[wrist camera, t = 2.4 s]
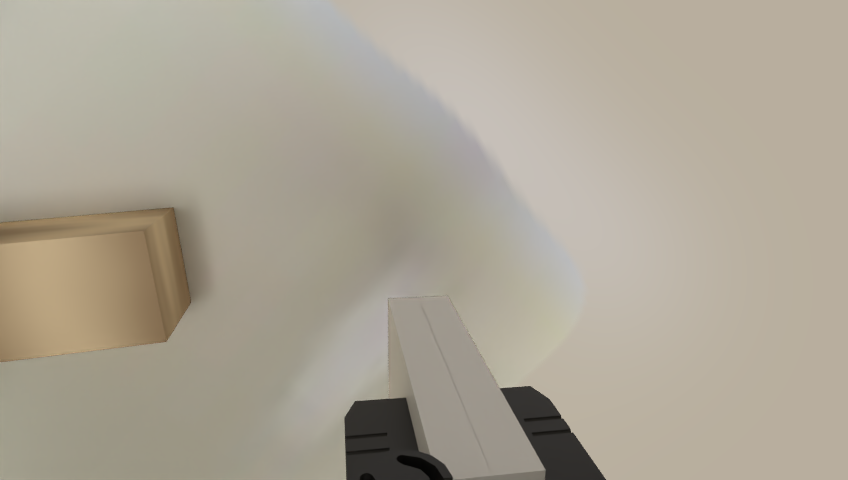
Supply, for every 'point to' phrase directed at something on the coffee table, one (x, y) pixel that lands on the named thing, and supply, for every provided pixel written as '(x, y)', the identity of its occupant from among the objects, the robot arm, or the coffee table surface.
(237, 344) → the coffee table surface
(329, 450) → the coffee table surface
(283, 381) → the coffee table surface
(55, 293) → the peg
